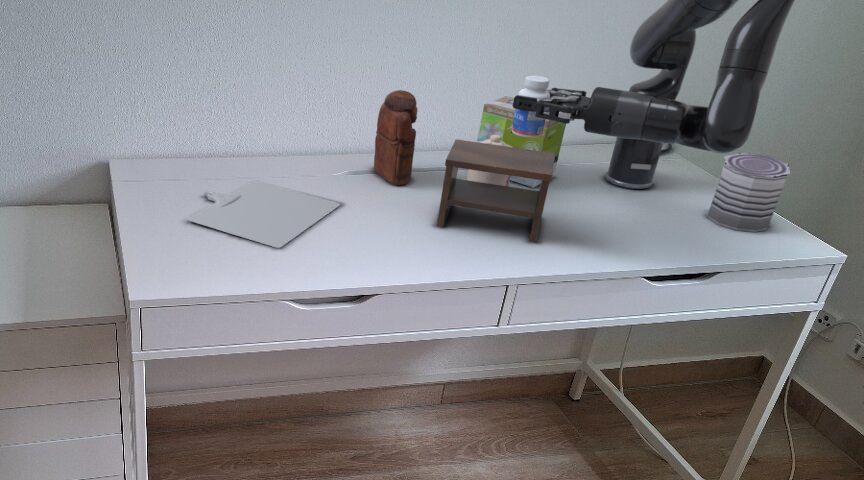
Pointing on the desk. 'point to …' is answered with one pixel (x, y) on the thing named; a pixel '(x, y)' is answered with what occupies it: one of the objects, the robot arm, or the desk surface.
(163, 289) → the desk surface
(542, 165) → the walnut stand
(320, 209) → the grey clipboard
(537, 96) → the pill bottle
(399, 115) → the wooden figurine
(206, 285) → the desk surface
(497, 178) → the teacup with lid
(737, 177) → the can
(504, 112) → the tea box
